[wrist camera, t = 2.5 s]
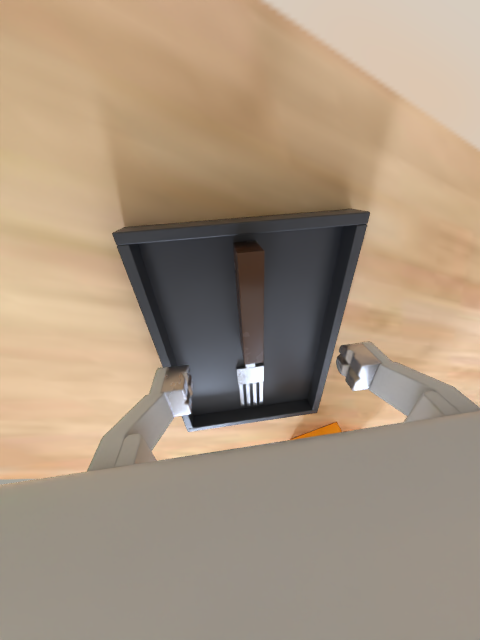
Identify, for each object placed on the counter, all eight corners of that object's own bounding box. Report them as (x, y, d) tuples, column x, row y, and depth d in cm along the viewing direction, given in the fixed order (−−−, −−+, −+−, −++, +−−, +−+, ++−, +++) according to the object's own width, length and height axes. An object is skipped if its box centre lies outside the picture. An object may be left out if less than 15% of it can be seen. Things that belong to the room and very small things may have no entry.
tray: (124, 227, 13) (111, 233, 11) (352, 208, 14) (371, 211, 12) (189, 415, 25) (187, 432, 23) (310, 398, 26) (317, 412, 24)
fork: (224, 242, 14) (226, 254, 11) (264, 239, 14) (275, 249, 12) (239, 404, 24) (242, 427, 22) (263, 401, 24) (268, 424, 22)
